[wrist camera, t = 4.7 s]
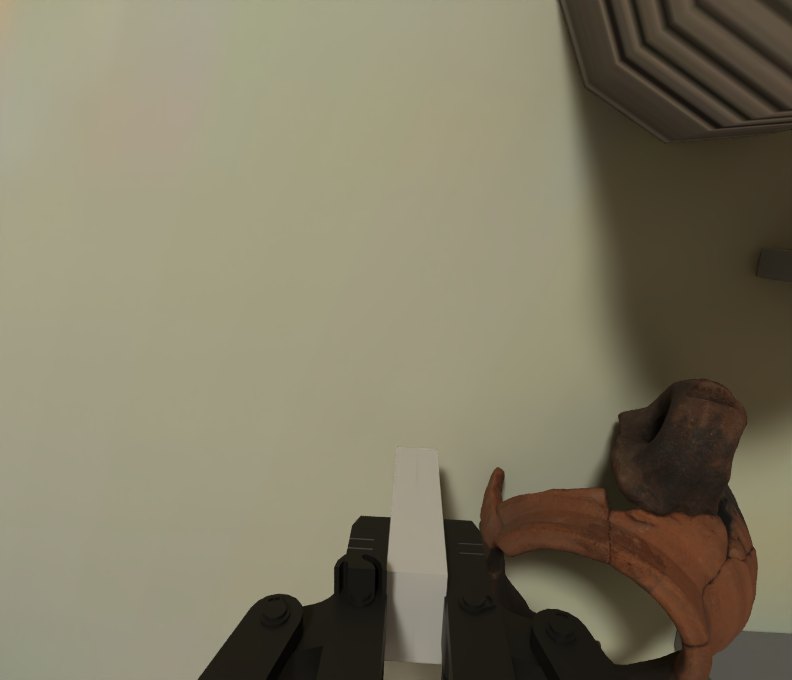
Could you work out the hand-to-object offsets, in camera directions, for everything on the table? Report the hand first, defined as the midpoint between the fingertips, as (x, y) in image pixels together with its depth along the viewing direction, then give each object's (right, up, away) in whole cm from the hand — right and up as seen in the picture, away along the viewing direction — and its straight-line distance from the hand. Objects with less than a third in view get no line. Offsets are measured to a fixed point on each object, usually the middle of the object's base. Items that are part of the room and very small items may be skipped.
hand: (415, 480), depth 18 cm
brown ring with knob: (+8, -1, +2) cm, 8 cm away
